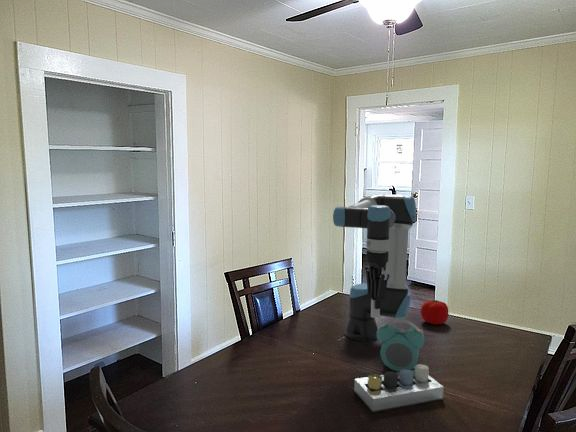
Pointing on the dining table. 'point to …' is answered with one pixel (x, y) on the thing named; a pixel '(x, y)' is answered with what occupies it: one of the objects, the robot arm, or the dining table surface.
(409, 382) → the blue ovoid
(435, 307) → the tomato
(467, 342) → the dining table surface
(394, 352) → the alarm clock
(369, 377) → the gold rounded cylinder
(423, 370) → the white egg
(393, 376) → the black rounded cylinder
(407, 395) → the white socket board
